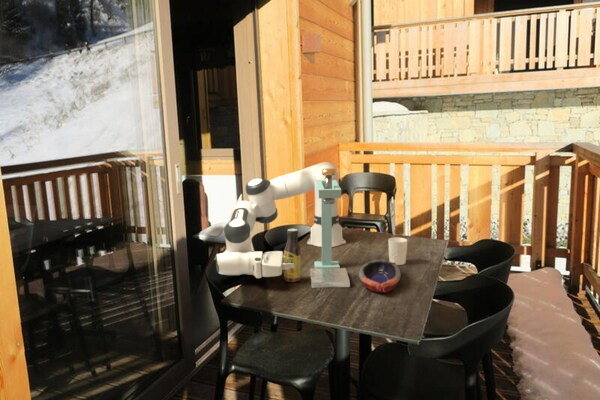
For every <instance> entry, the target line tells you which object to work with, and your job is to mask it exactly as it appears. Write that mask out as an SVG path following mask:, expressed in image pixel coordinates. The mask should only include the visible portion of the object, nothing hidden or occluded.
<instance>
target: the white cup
mask: <svg viewBox="0 0 600 400" xmlns="http://www.w3.org/2000/svg"><path fill="white" fill-rule="evenodd" d="M387 242H388V259H389V260H388V261H390V262H395V263H396V265H397V266H403V265H405V264H406V262H407V261H406V260H407V252H408V239H407V238H405V237H399V236H398V237H390V238H388V241H387Z"/></svg>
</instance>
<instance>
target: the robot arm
mask: <svg viewBox="0 0 600 400" xmlns="http://www.w3.org/2000/svg"><path fill="white" fill-rule="evenodd" d="M327 168H331V169H336V175H332V180H336V181H337V183H338V184H339V172H338V169H337V168H336V166H335V165H334V164H333V163H331V162H327V161H323V162H320V163H316V164H313V165H310V166H308V167H305V168H303V169H299V170H296V171H293V172H289V173H286V174H283V175H279V176H275V177H274V178H272V179H270V180H268V179H265V178H262V177H255V178H253V179H251V180H249V181H248V182H247V183H246V185H245V192H246V194H247V198H248V200H246V199H245V200H240V201H238V202H236V203H235V205H234V207H233V209H232V211H231V214H230V220H229V222H227V223H226V224H225V226H224V228H223V231H224V237H225V246H226V248H225V251H223V252H220V253H217V254H216V255H215V266H216V272H217V273H218V274H219V275H225V276H240V275H249V276H254V277H255V278H256V279H261V278H262V277H264V278H271V277H279V276H281V275H282V274H283V271H284V270H286V269H290V268H294V267H295V263H287V264H285V263H284V251H282V250H273V251H266V252H264V253H263V251H260V250H259V251H258V250H257V251H252V239H251V233H252V231H254V228H255V226H256V223H259V224H265V225H266V224H270V223H272V222H274V221H275V220H276V219H277V218H278V208H277V206H276V202H275V201H278V200H284V199H288V198H292V197H295V196H299V195H303V194H306V193H309V192H310V191H313V190H314V215H313V225H312V226H311V227H310V229H309V233H310V236H309V238H308V240H307V242H306V244H307V245H311V246H314V247H318V248H322V232H321V198H319V197H318V193H317V189H316V180H325V175H322V169H327ZM338 212H339V198H335V203H333V204H332V248H333V247H334V248H335V247H338V246H340V245H341V246H342V245H345V244H347V241H346V240H345V239H344V238H343V226H342V225H341V224H340V222H339V221H340V220H339V219H340V216H339V213H338Z"/></svg>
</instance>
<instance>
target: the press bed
mask: <svg viewBox="0 0 600 400" xmlns="http://www.w3.org/2000/svg"><path fill="white" fill-rule="evenodd" d="M309 272H310V273H309V274H310V284H311V288H312V289H314V288H350V287H351V281H350V278H349V273H348V271H347V268H345V267H340V268H320V269H315V268H310V271H309Z"/></svg>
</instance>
